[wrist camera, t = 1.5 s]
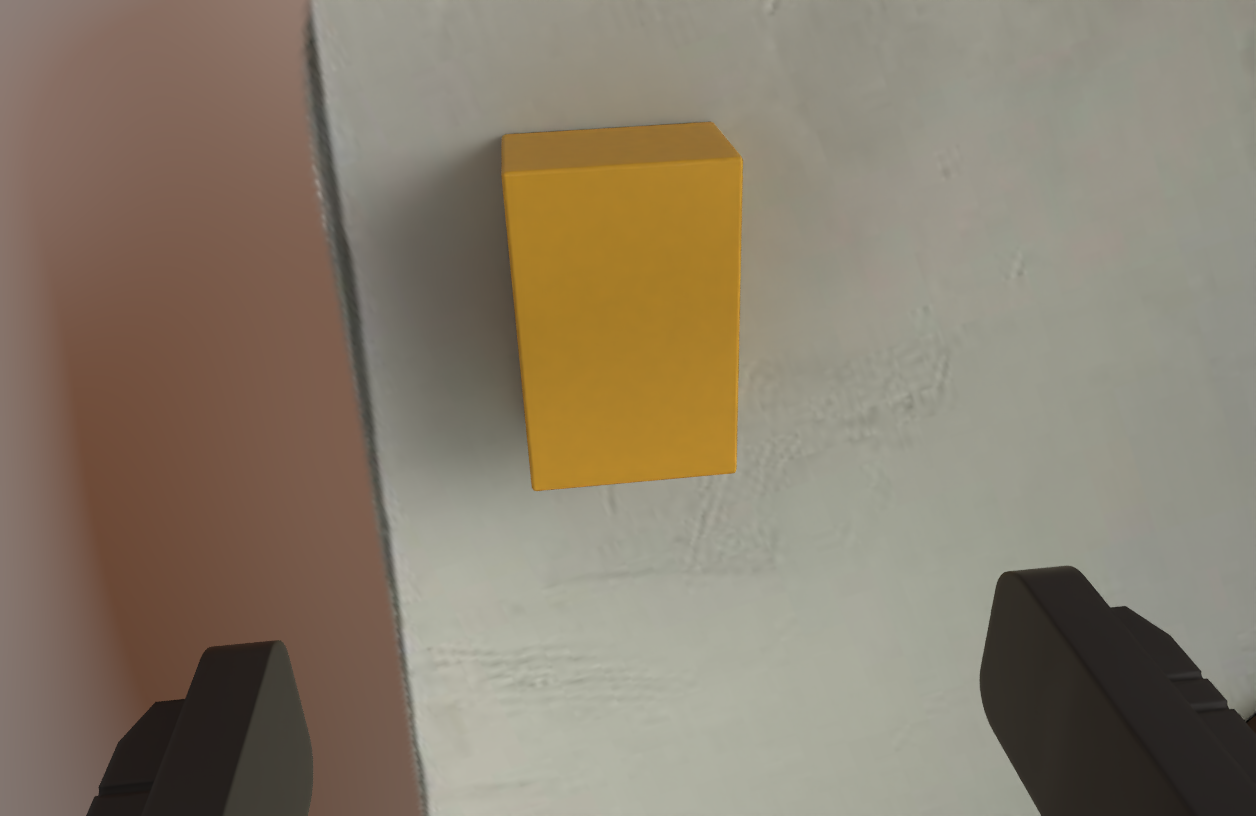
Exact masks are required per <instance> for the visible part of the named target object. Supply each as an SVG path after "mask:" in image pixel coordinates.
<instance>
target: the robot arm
mask: <svg viewBox="0 0 1256 816" xmlns="http://www.w3.org/2000/svg"><path fill="white" fill-rule="evenodd" d="M980 691H981V698H982V703H983V707H984V710H985V713H986V716H987V719H988V721H989V724H990V726H991V728H992V730H993V732H994V733H995V735H996V737H997V739H998V740H999V742H1000V744H1001V746H1002V747H1003V749H1004V751H1005V753H1006V754H1007V756H1008V758H1009V760H1010V761H1011V763H1012V765H1013V767H1014V768H1015V770H1016V772H1017V774H1018V775H1019V777H1020V779H1021V781H1022V782H1023V784H1024V786H1025V788H1026V790H1027V791H1028V793H1029V795H1030V797H1031V798H1032V800H1033V802H1034V804H1035V805H1036V807H1037V809H1038V811H1039V812H1040V814H1041V816H1256V734H1255V732H1254V731H1253V730H1252V729H1251V728H1250V727H1249V726H1248V724H1247V723H1246V722H1245V721H1244V720H1243V719H1242V718H1241V716H1240V715H1239V714H1238V713H1237V712H1236V711H1235V709H1229V708H1228V706H1227V700H1226V699H1225V698H1224V697H1223V696H1222V695H1221V693H1220V692H1219V691H1218V690H1217V689H1216V688H1215V686H1214V685H1213V684H1212V683H1211V682H1210V681H1209V680H1208V679H1203V678H1202V676H1201V670H1200V669H1199V668H1198V667H1197V666H1196V665H1195V664H1194V662H1193V661H1192V660H1191V659H1190V658H1189V657H1188V655H1187V654H1186V653H1185V652H1184V651H1183V650H1182V649H1181V647H1180V646H1179V645H1178V644H1177V643H1176V642H1175V641H1174V639H1173V638H1172V637H1171V636H1170V635H1169V634H1167V633H1166V632H1164V631H1163V630H1161V629H1160V628H1158V627H1157V626H1155V625H1153V624H1152V623H1150V622H1149V621H1147V620H1146V619H1144V618H1143V617H1141V616H1140V615H1138V614H1137V613H1135V612H1134V611H1132V610H1131V609H1129V608H1128V607H1126V606H1121V607H1112V608H1110V607H1109V605H1108V604H1107V603H1106V602H1105V601H1104V599H1103V598H1102V597H1101V596H1100V594H1099V593H1098V592H1097V591H1096V590H1095V588H1094V587H1093V586H1092V585H1091V584H1090V582H1089V581H1088V580H1087V579H1086V577H1085V576H1084V575H1083V574H1082V573H1081V572H1080V571H1079V570H1078V569H1076V568H1074V567H1072V566H1059V567H1049V568H1038V569H1028V570H1018V571H1008V572H1004V573H1003V574H1002V575H1001V576H1000V578H999V579H998V582H997V585H996V589H995V594H994V600H993V605H992V610H991V616H990V621H989V626H988V632H987V637H986V642H985V648H984V653H983V658H982V664H981V669H980ZM312 786H313V756H312V747H311V742H310V736H309V733H308V729H307V725H306V721H305V717H304V713H303V709H302V705H301V701H300V698H299V694H298V690H297V686H296V682H295V678H294V675H293V670H292V667H291V663H290V659H289V655H288V652H287V649H286V647H285V645H284V643H283V642H282V641H279V640H277V641H266V642H255V643H245V644H235V645H225V646H214V647H209V648H207V650H205V652H204V653H203V655H202V657H201V659H200V662H199V664H198V667H197V670H196V672H195V675H194V677H193V680H192V683H191V685H190V688H189V691H188V694H187V696H186V699H181V700H171V701H161V702H155V703H154V704H153V705H152V707H151V708H150V709H149V710H148V711H147V712H146V713H145V714H144V715H143V716H142V717H141V718H140V720H139V721H138V722H137V723H136V724H135V725H134V726H133V727H132V728H131V729H130V730H129V731H128V733H127V734H126V735H125V736H124V737H123V738H122V739H121V740H120V741H119V742H118V744H117V747H116V749H115V751H114V753H113V756H112V758H111V760H110V763H109V765H108V767H107V769H106V772H105V774H104V777H103V779H102V781H101V783H100V785H99V795H98V796H95V797H94V799H93V802H92V804H91V806H90V808H89V811H88V813H87V815H86V816H308V812H309V807H310V802H311V796H312Z"/></svg>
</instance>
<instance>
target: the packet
mask: <svg viewBox="0 0 1256 816" xmlns="http://www.w3.org/2000/svg"><path fill="white" fill-rule="evenodd" d="M501 178H502V188H503V198H504V208H505V218H506V229H507V239H508V249H509V259H510V270H511V280H512V290H513V300H514V311H515V321H516V331H517V341H518V351H519V362H520V372H521V382H522V392H523V403H524V413H525V423H526V433H527V443H528V454H529V464H530V474H531V484H532V488H533V490H534V491H542V490H553V489H564V488H575V487H586V486H598V485H609V484H620V483H631V482H642V481H653V480H664V479H675V478H686V477H697V476H708V475H719V474H730V473H735V472H736V468H737V421H738V373H739V326H740V278H741V231H742V183H743V159H742V157H741V156H740V155H739V153H738V152H737V151H736V150H735V148H734V147H733V146H732V145H731V144H730V142H729V141H728V140H727V139H726V137H725V136H724V135H723V134H722V133H721V131H720V130H719V129H718V128H717V126H716V125H715V124H714V123H713V122H700V123H683V124H667V125H651V126H635V127H618V128H602V129H586V130H570V131H553V132H537V133H521V134H505V135H503V136H502V140H501Z"/></svg>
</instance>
